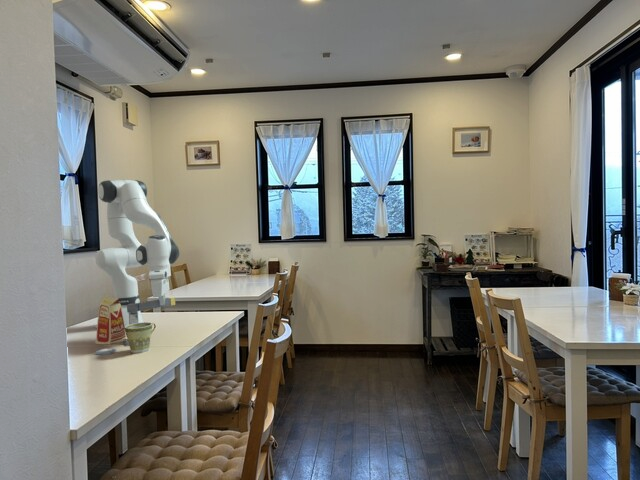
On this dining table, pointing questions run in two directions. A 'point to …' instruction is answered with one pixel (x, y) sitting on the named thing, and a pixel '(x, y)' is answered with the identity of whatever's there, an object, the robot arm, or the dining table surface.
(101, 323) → the milk carton
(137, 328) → the ceramic cup
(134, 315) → the post
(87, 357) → the dining table surface
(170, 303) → the swing arm
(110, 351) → the label plate
